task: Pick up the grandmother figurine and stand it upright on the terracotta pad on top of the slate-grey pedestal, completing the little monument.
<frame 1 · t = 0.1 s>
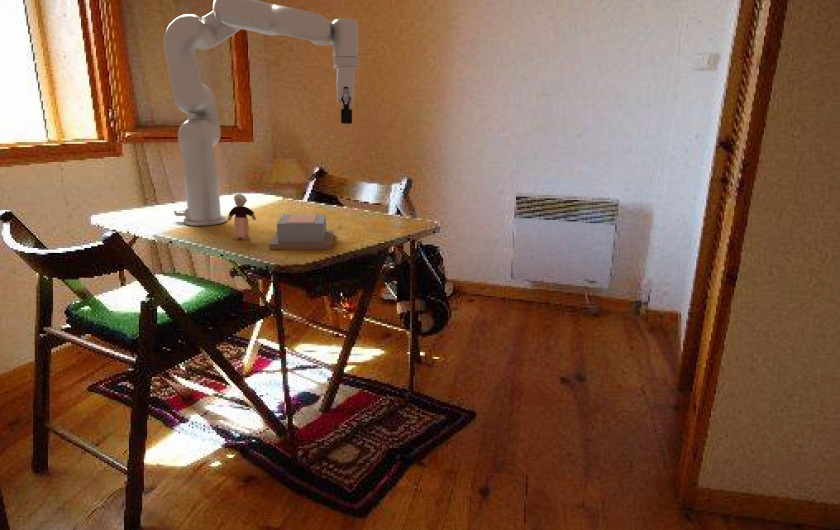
hand: (346, 122, 167), 31 cm above the table, tool pointing down, fingers open, 9 cm apart
plinth: (303, 241, 150), on the table
grandmother figurine: (243, 239, 152), on the table
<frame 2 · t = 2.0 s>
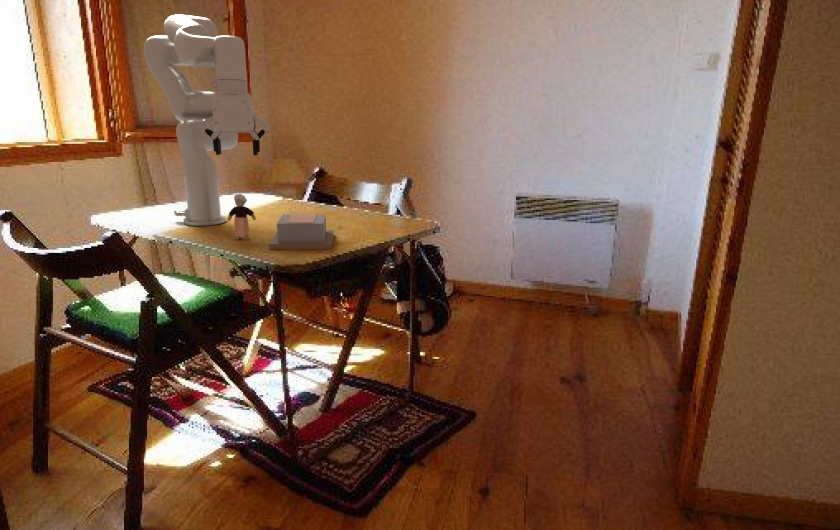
hand: (237, 154, 145), 23 cm above the table, tool pointing down, fingers open, 9 cm apart
nothing on the table moved.
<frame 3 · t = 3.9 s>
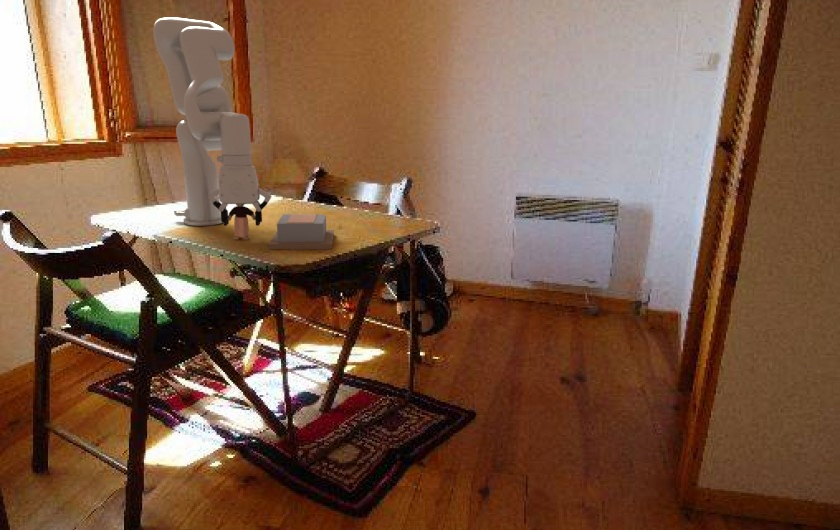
hand: (242, 224, 150), 4 cm above the table, tool pointing down, fingers closed on grandmother figurine, 8 cm apart
grandmother figurine: (243, 239, 152), on the table, touching gripper
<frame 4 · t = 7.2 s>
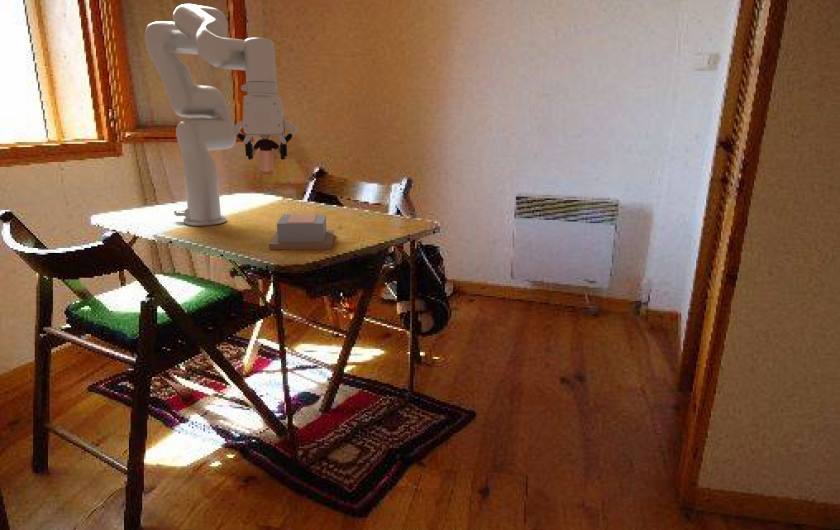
hand: (267, 158, 144), 22 cm above the table, tool pointing down, fingers closed on grandmother figurine, 7 cm apart
grandmother figurine: (268, 174, 145), point 18 cm above the table, touching gripper
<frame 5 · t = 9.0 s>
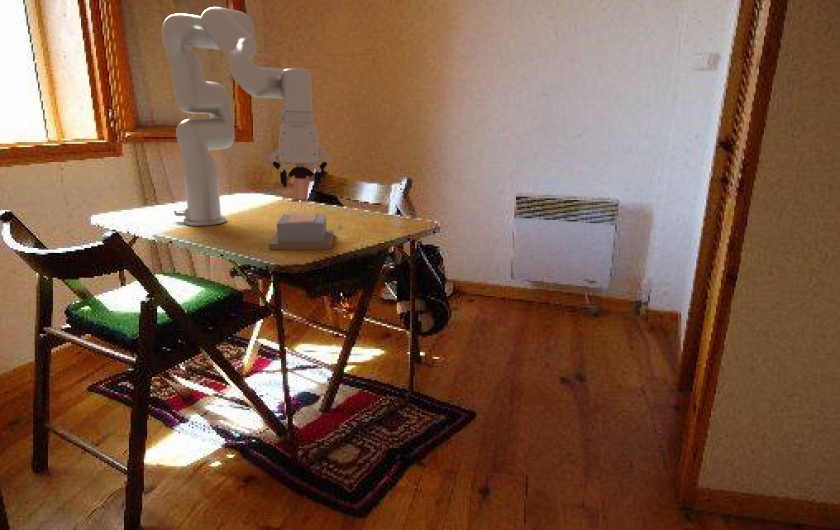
hand: (301, 186, 145), 15 cm above the table, tool pointing down, fingers closed on grandmother figurine, 7 cm apart
grandmother figurine: (302, 201, 146), point 11 cm above the table, touching gripper
when the fingers open (12 cm above the table, at t = 10.3 s): grandmother figurine stays where it is, resting on plinth.
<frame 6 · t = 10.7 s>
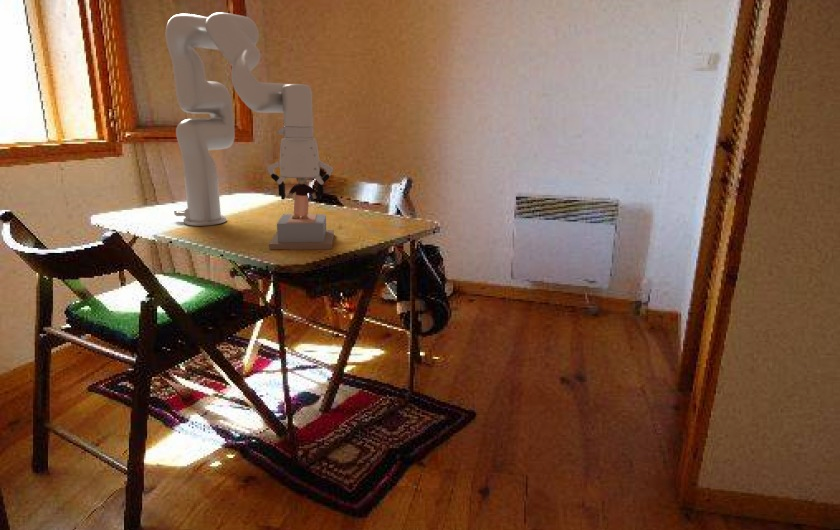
hand: (301, 198, 146), 12 cm above the table, tool pointing down, fingers open, 9 cm apart
grandmother figurine: (302, 218, 148), point 7 cm above the table, touching plinth
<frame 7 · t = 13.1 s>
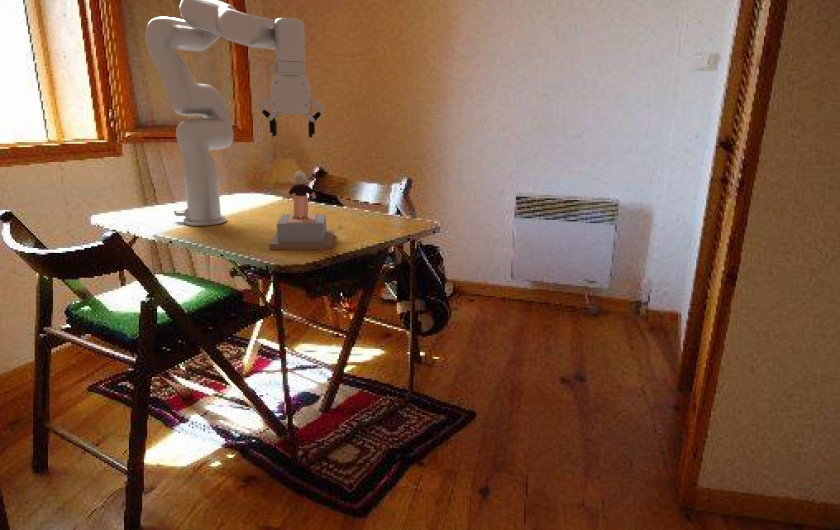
hand: (292, 136, 147), 28 cm above the table, tool pointing down, fingers open, 9 cm apart
nothing on the table moved.
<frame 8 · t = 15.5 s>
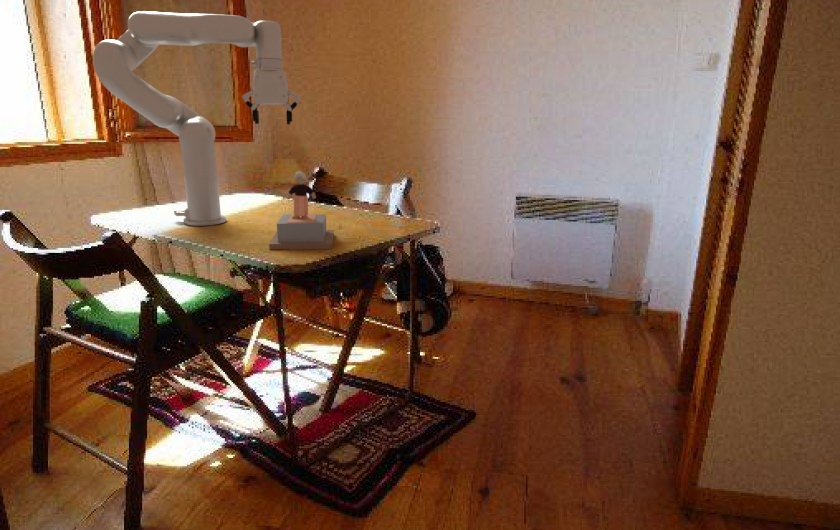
hand: (273, 124, 168), 30 cm above the table, tool pointing down, fingers open, 9 cm apart
nothing on the table moved.
at the end: grandmother figurine inside the target area on the plinth (0.2 cm from its centre), point 6.5 cm above the plinth's base; grandmother figurine tilted 0°; the gripper is holding nothing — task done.
